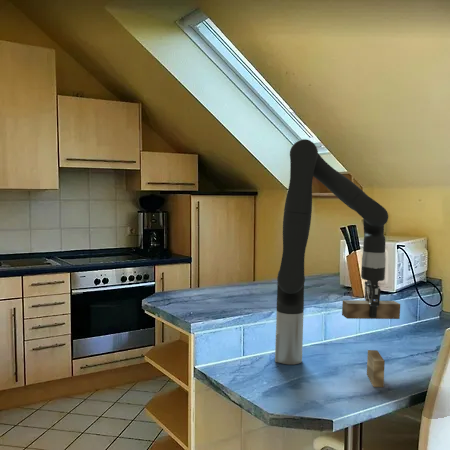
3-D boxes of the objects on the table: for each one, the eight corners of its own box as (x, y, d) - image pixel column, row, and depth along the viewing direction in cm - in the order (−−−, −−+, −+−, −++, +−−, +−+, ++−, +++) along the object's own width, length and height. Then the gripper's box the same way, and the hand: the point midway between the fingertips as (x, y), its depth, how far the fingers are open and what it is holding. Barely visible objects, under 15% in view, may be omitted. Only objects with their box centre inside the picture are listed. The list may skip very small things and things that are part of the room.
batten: (347, 318, 158) (347, 303, 158) (341, 314, 163) (342, 300, 163) (399, 318, 160) (400, 304, 160) (392, 315, 165) (393, 300, 165)
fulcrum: (373, 386, 144) (374, 360, 143) (366, 374, 154) (367, 349, 153) (383, 387, 143) (384, 361, 143) (376, 375, 153) (377, 350, 153)
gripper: (358, 261, 168) (355, 309, 169) (365, 267, 154) (363, 320, 155) (380, 262, 167) (377, 310, 168) (390, 268, 153) (387, 321, 154)
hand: (370, 315), depth 161 cm, fingers closed on batten, 5 cm apart
